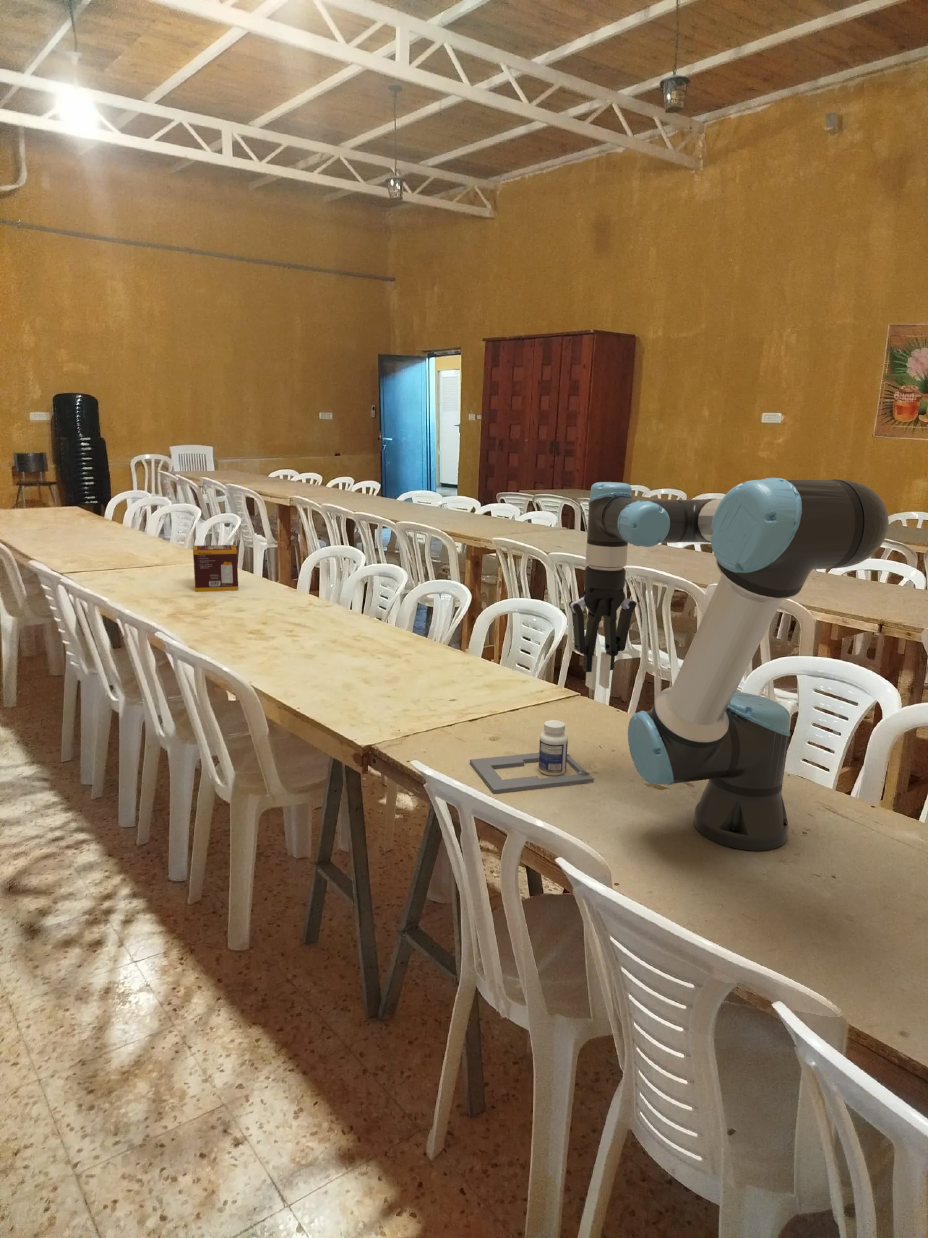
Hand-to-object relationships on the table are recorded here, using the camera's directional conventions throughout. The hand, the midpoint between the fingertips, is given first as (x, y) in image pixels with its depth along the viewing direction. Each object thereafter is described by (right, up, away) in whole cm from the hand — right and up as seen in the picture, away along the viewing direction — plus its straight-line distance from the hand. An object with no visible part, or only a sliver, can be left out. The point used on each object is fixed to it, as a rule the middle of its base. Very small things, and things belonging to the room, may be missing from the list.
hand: (597, 686), depth 163 cm
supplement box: (-118, +24, +152) cm, 194 cm away
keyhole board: (-13, -17, 0) cm, 21 cm away
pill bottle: (-9, -17, +1) cm, 19 cm away
